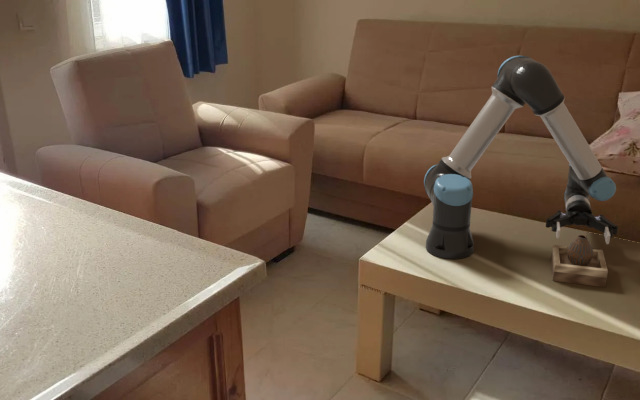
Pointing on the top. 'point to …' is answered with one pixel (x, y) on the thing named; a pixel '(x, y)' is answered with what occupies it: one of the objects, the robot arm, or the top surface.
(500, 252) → the top surface
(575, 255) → the vase
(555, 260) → the square wooden tray
